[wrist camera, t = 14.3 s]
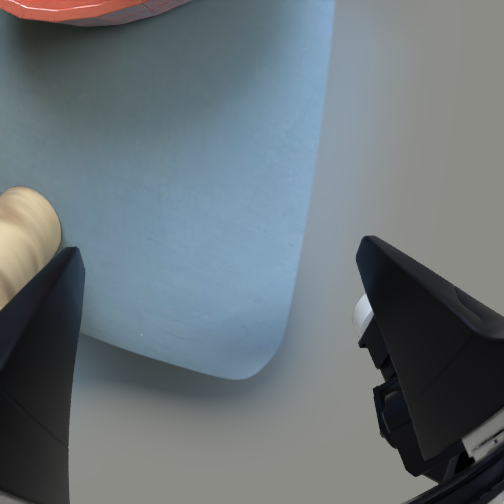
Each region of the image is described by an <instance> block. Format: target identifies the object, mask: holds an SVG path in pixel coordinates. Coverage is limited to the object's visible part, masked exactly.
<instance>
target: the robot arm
mask: <svg viewBox="0 0 504 504" xmlns="http://www.w3.org/2000/svg"><path fill="white" fill-rule="evenodd" d="M356 262H357V265H358V269H359V272H360V275H361V279H362V282H363V285H364V288H365V291H366V295H367V298H368V301H369V303H370V306H371V308H372V311H373V313H374V315H373V317H372V319H371V321H370V323H369V324H368V326H367V328H366V330H365V332H364V333H363V335H362V337H361V339H360V340H359V342H358V344H359V347H360V348H368V350H369V352H370V355H371V357H372V360H373V362H374V364H375V367H376V368H377V369H380V371H381V373H382V375H383V378H384V380H385V383H383V384H381V385H380V386H376V387H375V388H373V393H374V401H375V407H376V412H377V418H378V423H379V428H380V435H381V437H382V438H385V439H386V440H387V441H388V443H389V444H390V445H391V446H392V447H393V448H395V449H398V451H399V454H400V456H401V458H402V461H403V464H404V466H405V469H406V470H407V471H408V472H409V473H410V474H412V475H413V476H415V477H417V476H419V475H424V476H426V477H428V478H429V479H431V480H433V481H435V482H437V483H438V484H439V485H437V486H435V487H433V488H431V489H430V490H428V491H426V492H424V493H422V494H420V495H418V496H416V497H414V498H412V499H410V500H408V501H406V502H404V503H402V504H504V317H503V316H502V315H500V314H498V313H496V312H495V311H494V310H492V309H490V308H489V307H487V306H485V305H484V304H482V303H481V302H479V301H477V300H476V299H474V298H472V297H471V296H470V295H468V294H467V293H465V292H464V291H462V290H460V289H459V288H458V287H456V286H454V285H453V284H452V283H450V282H448V281H447V280H445V279H444V278H442V277H441V276H439V275H438V274H436V273H435V272H433V271H431V270H430V269H429V268H427V267H425V266H424V265H422V264H420V263H419V262H417V261H416V260H414V259H413V258H411V257H409V256H408V255H406V254H404V253H403V252H401V251H400V250H398V249H396V248H395V247H393V246H391V245H389V244H388V243H386V242H385V241H383V240H381V239H380V238H378V237H376V236H364V237H363V238H362V240H361V243H360V246H359V249H358V252H357V254H356ZM84 282H85V268H84V264H83V261H82V257H81V254H80V250H79V248H77V247H66V248H64V249H63V250H62V251H61V252H60V253H59V254H57V255H56V256H55V257H54V258H53V259H52V260H51V261H50V262H49V263H48V264H47V265H46V266H44V267H43V268H42V269H41V270H40V271H39V272H38V273H37V274H36V275H35V276H34V277H33V278H32V279H31V280H30V281H29V282H28V283H27V284H26V285H25V286H24V287H23V288H22V289H21V290H20V291H19V292H18V293H17V294H16V295H15V296H14V297H13V298H12V299H11V300H10V301H9V302H8V303H7V304H6V305H5V306H4V307H3V308H2V309H1V310H0V504H70V501H69V475H68V474H69V472H68V451H69V449H68V445H69V420H70V405H71V393H72V382H73V373H74V364H75V357H76V350H77V343H78V337H79V331H80V325H81V317H82V305H83V292H84Z"/></svg>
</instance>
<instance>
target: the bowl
mask: <svg viewBox="0 0 504 504" xmlns="http://www.w3.org/2000/svg"><path fill="white" fill-rule="evenodd" d="M190 1H192V0H0V9H2V10H4V11H6V12H8V13H10V14H12V15H14V16H16V17H19V18H21V19H27V20H37V21H46V22H53V23H61V24H68V25H75V26H81V27H93V26H106V25H120V24H124V23H128V22H132V21H136V20H140V19H144V18H148V17H152V16H156V15H159V14H161V13H164V12H166V11H168V10H170V9H173V8H175V7H177V6H180V5H182V4H185V3H187V2H190Z"/></svg>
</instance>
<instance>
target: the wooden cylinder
mask: <svg viewBox="0 0 504 504" xmlns="http://www.w3.org/2000/svg"><path fill="white" fill-rule="evenodd" d="M60 241H61V226H60V222H59V219H58V216H57V214H56V212H55V210H54V208H53V207H52V206H51V204H50V203H49V202H48V201H47V199H46V198H45V197H43V196H42V195H41V194H40V193H38V192H37V191H35V190H33V189H31V188H27V187H22V186H18V187H12V188H10V189H8V190H6V191H5V192H4V193H3V194H1V195H0V310H1V309H2V308H3V307H4V306H5V305H6V304H7V303H8V302H9V301H10V300H11V299H12V298H13V297H14V296H15V295H16V294H17V293H18V292H19V291H20V290H21V289H22V288H23V287H24V286H25V285H26V284H27V283H28V282H29V281H30V280H31V279H32V278H33V277H34V276H35V275H36V274H37V273H38V272H39V271H40V270H41V269H42V268H43V267H44V266H46V265H47V264H48V263H49V262H50V260H51V259H52V257H53V256H54V254H55V253H56V251H57V249H58V247H59V245H60Z"/></svg>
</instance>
